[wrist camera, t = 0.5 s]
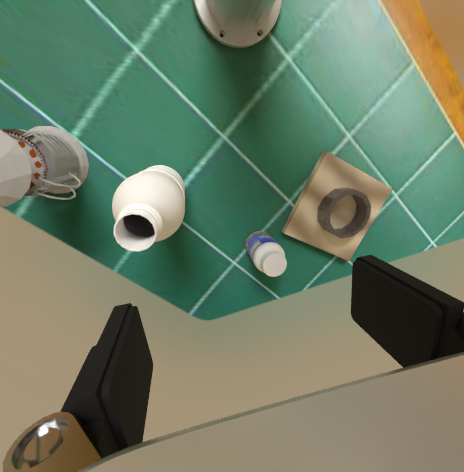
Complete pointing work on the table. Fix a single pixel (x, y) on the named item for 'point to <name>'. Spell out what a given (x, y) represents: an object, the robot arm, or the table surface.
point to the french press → (40, 163)
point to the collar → (358, 220)
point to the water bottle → (148, 207)
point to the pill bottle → (266, 253)
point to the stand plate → (320, 184)
